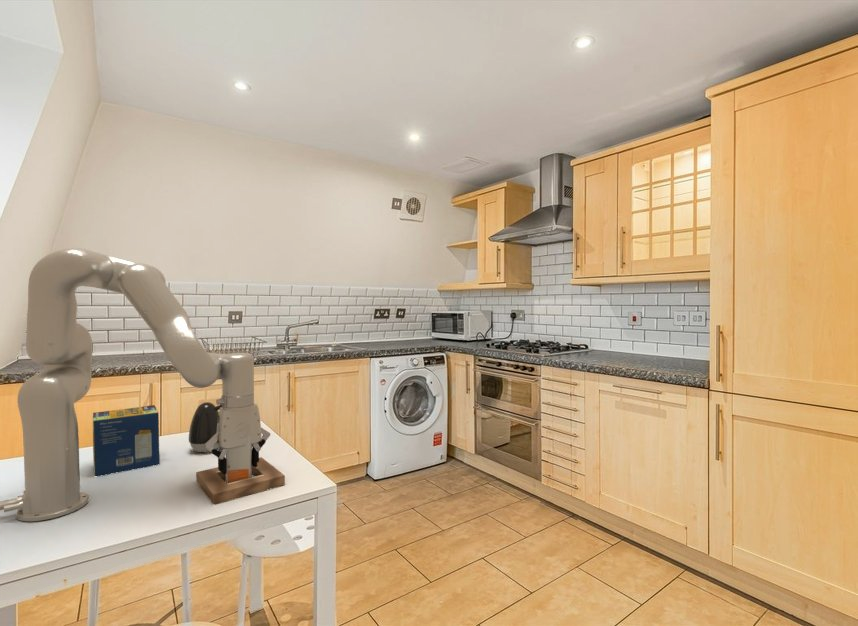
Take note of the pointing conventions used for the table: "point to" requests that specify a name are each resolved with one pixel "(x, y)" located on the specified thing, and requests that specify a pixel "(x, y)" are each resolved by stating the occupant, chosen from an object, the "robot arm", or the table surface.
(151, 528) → the table surface
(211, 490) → the wooden square frame
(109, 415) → the protein box
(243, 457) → the skincare box
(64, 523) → the table surface
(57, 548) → the table surface
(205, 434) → the pump dispenser
